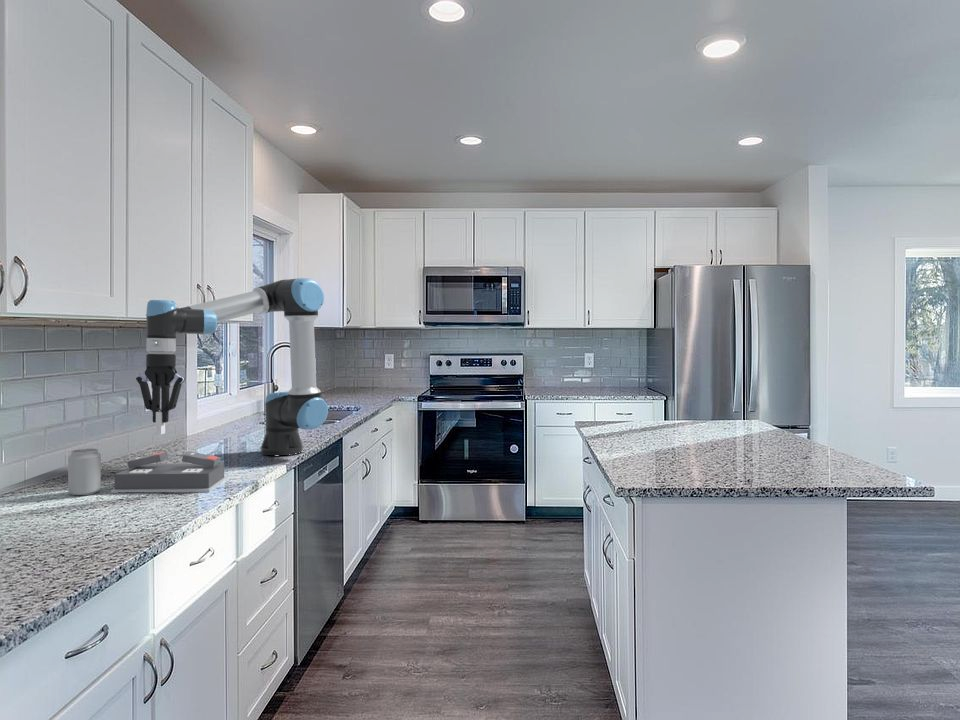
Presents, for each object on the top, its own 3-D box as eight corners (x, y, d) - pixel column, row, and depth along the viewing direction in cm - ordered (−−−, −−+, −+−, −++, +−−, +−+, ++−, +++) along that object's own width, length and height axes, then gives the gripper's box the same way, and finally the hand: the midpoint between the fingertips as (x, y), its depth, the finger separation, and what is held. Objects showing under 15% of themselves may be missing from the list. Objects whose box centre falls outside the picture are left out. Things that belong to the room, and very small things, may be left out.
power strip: (137, 479, 173) (137, 462, 173) (227, 479, 176) (227, 461, 176) (111, 493, 158) (110, 473, 158) (209, 492, 161) (209, 473, 161)
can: (84, 497, 154) (84, 453, 153) (61, 495, 155) (60, 451, 155) (107, 490, 161) (107, 448, 160) (85, 488, 162) (85, 446, 162)
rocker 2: (188, 457, 172) (190, 450, 172) (219, 463, 173) (220, 456, 173) (181, 461, 167) (183, 454, 167) (213, 467, 168) (214, 460, 168)
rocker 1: (137, 464, 170) (135, 457, 170) (168, 458, 171) (166, 451, 171) (128, 468, 165) (127, 461, 165) (160, 461, 166) (159, 454, 166)
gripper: (131, 352, 163) (130, 435, 163) (179, 353, 164) (178, 435, 165) (143, 352, 170) (143, 431, 171) (189, 353, 172) (188, 431, 172)
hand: (160, 433), depth 168 cm, fingers closed
